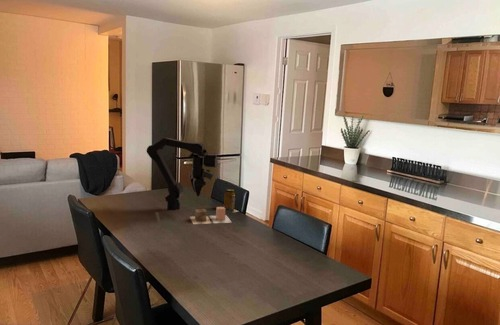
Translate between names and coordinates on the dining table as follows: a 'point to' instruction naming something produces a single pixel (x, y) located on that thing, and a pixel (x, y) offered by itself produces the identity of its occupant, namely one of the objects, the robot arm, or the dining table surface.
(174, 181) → the robot arm
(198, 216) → the walnut block
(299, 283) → the dining table surface
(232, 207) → the condiment
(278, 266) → the dining table surface
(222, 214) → the salmon orange block
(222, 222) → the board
